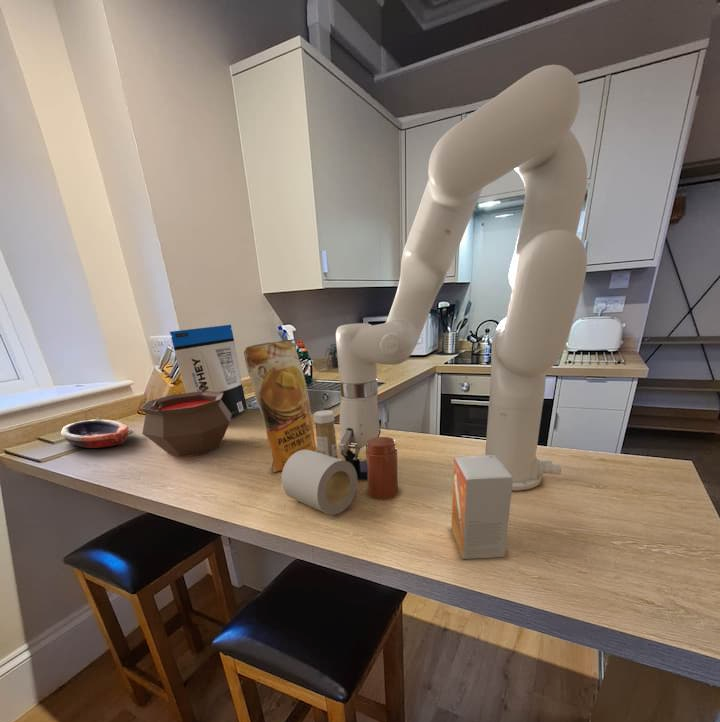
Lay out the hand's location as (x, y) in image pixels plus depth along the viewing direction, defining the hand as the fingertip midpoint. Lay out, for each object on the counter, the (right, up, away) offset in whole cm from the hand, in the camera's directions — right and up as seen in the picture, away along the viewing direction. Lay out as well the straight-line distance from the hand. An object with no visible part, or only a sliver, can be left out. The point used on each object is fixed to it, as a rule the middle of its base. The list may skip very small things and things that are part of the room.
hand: (364, 467), depth 86 cm
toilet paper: (-8, -8, -11) cm, 16 cm away
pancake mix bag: (-18, +2, +11) cm, 21 cm away
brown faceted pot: (-48, +6, +25) cm, 54 cm away
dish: (-83, +9, +37) cm, 92 cm away
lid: (0, 0, 0) cm, 0 cm away
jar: (+4, -5, -8) cm, 10 cm away
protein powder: (-50, +20, +54) cm, 77 cm away
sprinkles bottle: (-8, 0, +5) cm, 9 cm away
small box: (+17, -13, -26) cm, 33 cm away
